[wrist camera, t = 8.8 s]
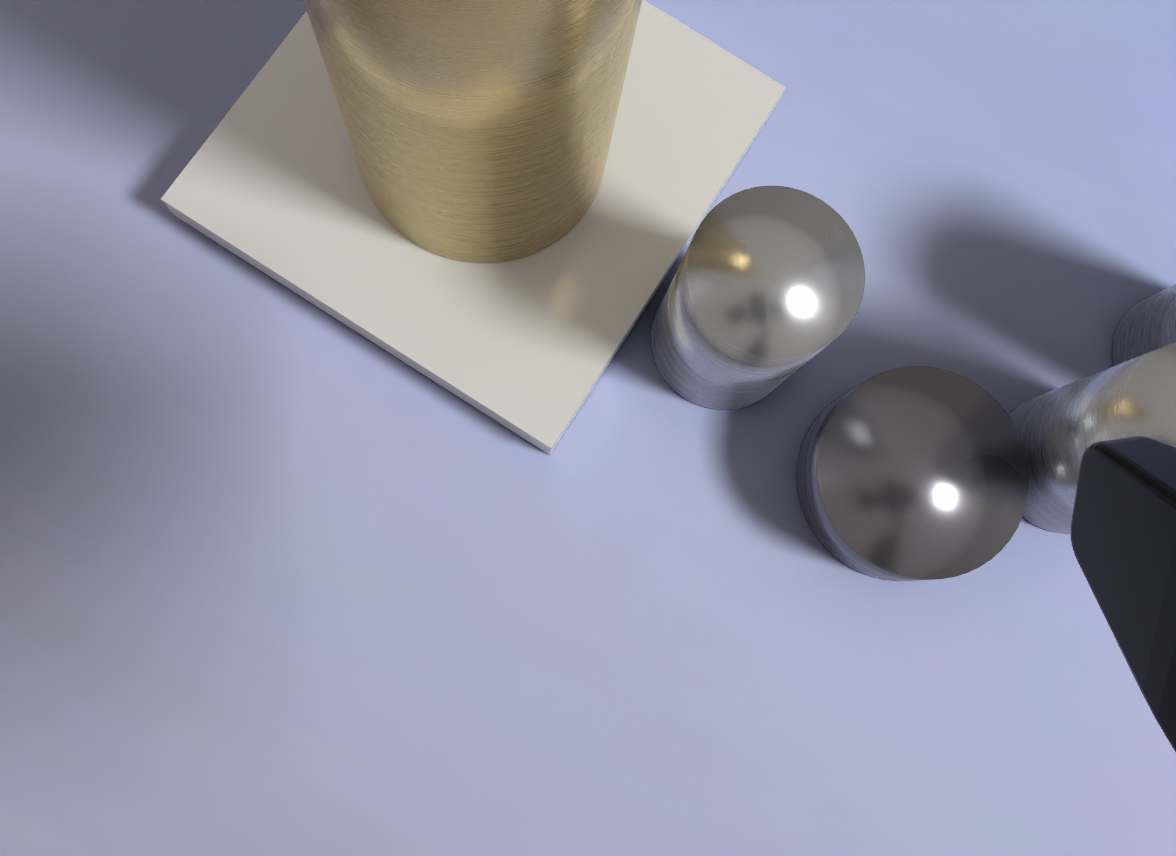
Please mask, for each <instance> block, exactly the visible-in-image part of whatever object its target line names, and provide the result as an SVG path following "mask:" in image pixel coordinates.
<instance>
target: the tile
mask: <svg viewBox="0 0 1176 856" xmlns="http://www.w3.org/2000/svg"><path fill="white" fill-rule="evenodd" d="M785 88H786V87H784V86H782V85H781V84H779V83H778V82H776V81H774V80H773V79H771V78H769V77H768V76H766V75H765V74H763V73H761V72H760V71H758V70H757V69H755V68H753V67H752V66H750V65H748V64H747V63H745V62H744V61H742V60H740V59H739V58H737V57H736V56H734V55H732V54H731V53H729V52H728V51H726V50H724V49H723V48H721V47H719V46H718V45H716V44H715V43H713V42H711V41H710V40H708V39H707V38H705V37H703V36H702V35H700V34H699V33H697V32H695V31H694V30H692V29H690V28H689V27H687V26H686V25H684V24H682V23H681V22H679V21H678V20H676V19H674V18H673V17H671V16H669V15H668V14H666V13H665V12H663V11H661V10H660V9H658V8H657V7H655V6H653V5H652V4H650V3H649V2H647V1H645V0H642V3H641V8H640V12H639V17H638V21H637V26H636V30H635V35H634V39H633V44H632V48H631V53H630V57H629V62H628V66H627V71H626V75H625V80H624V84H623V89H622V93H621V98H620V102H619V107H618V111H617V116H616V120H615V125H614V129H613V134H612V138H611V143H610V147H609V152H608V156H607V161H606V165H605V170H604V174H603V178H602V182H601V185H600V187H599V190H598V192H597V195H596V197H595V199H594V201H593V202H592V204H591V206H590V208H589V210H588V211H587V212H586V214H585V215H584V216H583V217H582V219H581V220H580V221H579V223H578V224H577V225H576V226H575V227H574V228H573V229H572V230H571V231H570V232H569V233H567V234H566V235H565V236H563V237H562V238H561V239H559V240H558V241H557V242H556V243H554V244H552V245H550V246H549V247H547V248H545V249H543V250H542V251H539V252H537V253H534V254H532V255H529V256H527V257H523V258H520V259H516V260H512V261H507V262H499V263H470V262H461V261H457V260H453V259H449V258H445V257H442V256H440V255H437V254H434V253H432V252H429V251H427V250H425V249H424V248H422V247H420V246H418V245H416V244H414V243H413V242H412V241H410V240H409V239H407V238H406V237H404V236H403V235H402V234H401V233H400V232H398V231H397V230H396V229H395V228H394V227H393V226H392V225H391V224H390V223H389V222H388V221H387V220H386V218H385V217H384V216H383V215H382V214H381V212H380V211H379V210H378V208H377V206H376V205H375V203H374V202H373V200H372V198H371V196H370V194H369V192H368V190H367V187H366V185H365V183H364V180H363V177H362V174H361V171H360V168H359V165H358V162H357V159H356V156H355V153H354V150H353V147H352V144H351V141H350V138H349V135H348V132H347V129H346V126H345V123H344V120H343V117H342V114H341V111H340V108H339V105H338V102H337V99H336V97H335V94H334V91H333V88H332V85H331V82H330V79H329V76H328V73H327V70H326V67H325V64H324V61H323V58H322V55H321V52H320V49H319V46H318V43H317V40H316V37H315V34H314V31H313V28H312V25H311V22H310V19H309V16H308V13H307V11H306V12H305V13H304V14H303V16H302V17H301V18H300V20H299V21H298V22H297V23H296V25H295V26H294V27H293V29H292V30H291V31H290V32H289V34H288V35H287V36H286V38H285V39H284V40H283V42H282V43H281V44H280V45H279V47H278V48H277V49H276V51H275V52H274V53H273V54H272V56H271V57H270V58H269V60H268V61H267V62H266V63H265V65H264V66H263V67H262V69H261V70H260V71H259V73H258V74H257V75H256V76H255V78H254V79H253V80H252V82H251V83H250V84H249V85H248V87H247V88H246V89H245V91H244V92H243V93H242V94H241V96H240V97H239V98H238V100H237V101H236V102H235V104H234V105H233V106H232V107H231V109H230V110H229V111H228V113H227V114H226V115H225V116H224V118H223V119H222V120H221V122H220V123H219V124H218V125H217V127H216V128H215V129H214V131H213V132H212V133H211V135H210V136H209V137H208V138H207V140H206V141H205V142H204V144H203V145H202V146H201V147H200V149H199V150H198V151H197V153H196V154H195V155H194V156H193V158H192V159H191V160H190V162H189V163H188V164H187V166H186V167H185V168H184V169H183V171H182V172H181V173H180V175H179V176H178V177H177V178H176V180H175V181H174V182H173V184H172V185H171V186H170V187H169V189H168V190H167V191H166V193H165V194H164V195H163V197H162V198H161V200H162V201H163V202H164V203H165V205H166V206H167V207H168V208H169V209H170V210H171V211H172V213H173V214H174V215H175V216H176V217H178V218H179V219H181V220H182V221H184V222H186V223H187V224H189V225H190V226H192V227H193V228H195V229H196V230H198V231H200V232H201V233H203V234H204V235H206V236H207V237H209V238H211V239H212V240H214V241H215V242H217V243H218V244H220V245H222V246H223V247H225V248H226V249H228V250H229V251H231V252H232V253H234V254H236V255H237V256H239V257H240V258H242V259H243V260H245V261H247V262H248V263H250V264H251V265H253V266H254V267H256V268H258V269H259V270H261V271H262V272H264V273H265V274H267V275H269V276H270V277H272V278H273V279H275V280H276V281H278V282H279V283H281V284H283V285H284V286H286V287H287V288H289V289H290V290H292V291H294V292H295V293H297V294H298V295H300V296H301V297H303V298H305V299H306V300H308V301H309V302H311V303H312V304H314V305H315V306H317V307H319V308H320V309H322V310H323V311H325V312H326V313H328V314H330V315H331V316H333V317H334V318H336V319H337V320H339V321H341V322H342V323H344V324H345V325H347V326H348V327H350V328H351V329H353V330H355V331H356V332H358V333H359V334H361V335H362V336H364V337H366V338H367V339H369V340H370V341H372V342H373V343H375V344H377V345H378V346H380V347H381V348H383V349H384V350H386V351H387V352H389V353H391V354H392V355H394V356H395V357H397V358H398V359H400V360H402V361H403V362H405V363H406V364H408V365H409V366H411V367H413V368H414V369H416V370H417V371H419V372H420V373H422V374H423V375H425V376H427V377H428V378H430V379H431V380H433V381H434V382H436V383H438V384H439V385H441V386H442V387H444V388H445V389H447V390H449V391H450V392H452V393H453V394H455V395H456V396H458V397H459V398H461V399H463V400H464V401H466V402H467V403H469V404H470V405H472V406H474V407H475V408H477V409H478V410H480V411H481V412H483V413H485V414H486V415H488V416H489V417H491V418H492V419H494V420H496V421H497V422H499V423H500V424H502V425H503V426H505V427H506V428H508V429H510V430H511V431H513V432H514V433H516V434H517V435H519V436H521V437H522V438H524V439H525V440H527V441H528V442H530V443H532V444H533V445H535V446H536V447H538V448H539V449H541V450H542V451H544V452H546V453H547V454H549V455H550V454H551V452H552V451H553V449H554V448H555V446H556V445H557V443H558V442H559V440H560V439H561V437H562V435H563V434H564V432H565V431H566V429H567V428H568V426H569V425H570V423H571V422H572V420H573V419H574V417H575V415H576V414H577V412H578V411H579V409H580V408H581V406H582V405H583V403H584V402H585V400H586V399H587V397H588V395H589V394H590V392H591V391H592V389H593V388H594V386H595V385H596V383H597V382H598V380H599V379H600V377H601V375H602V374H603V372H604V371H605V369H606V368H607V366H608V365H609V363H610V362H611V360H612V358H613V357H614V355H615V354H616V352H617V351H618V349H619V348H620V346H621V345H622V343H623V342H624V340H625V338H626V337H627V335H628V334H629V332H630V331H631V329H632V328H633V326H634V325H635V323H636V322H637V320H638V318H639V317H640V315H641V314H642V312H643V311H644V309H645V308H646V306H647V305H648V303H649V301H650V300H651V298H652V297H653V295H654V294H655V292H656V291H657V289H658V288H659V286H660V285H661V283H662V281H663V280H664V278H665V277H666V275H667V274H668V272H669V271H670V269H671V268H672V266H673V265H674V263H675V261H676V260H677V258H678V257H679V255H680V254H681V252H682V251H683V249H684V248H685V246H686V244H687V243H688V241H689V240H690V238H691V237H692V235H693V234H694V232H695V231H696V229H697V228H698V226H699V224H700V223H701V221H702V220H703V218H704V217H705V215H706V214H707V212H708V211H709V209H710V208H711V206H712V204H713V203H714V201H715V200H716V198H717V197H718V195H719V194H720V192H721V191H722V189H723V188H724V186H725V184H726V183H727V181H728V180H729V178H730V177H731V175H732V174H733V172H734V171H735V169H736V167H737V166H738V164H739V163H740V161H741V160H742V158H743V157H744V155H745V154H746V152H747V151H748V149H749V147H750V146H751V144H752V143H753V141H754V140H755V138H756V137H757V135H758V134H759V132H760V131H761V129H762V127H763V126H764V124H765V123H766V121H767V120H768V118H769V117H770V115H771V114H772V112H773V110H774V109H775V107H776V105H777V103H778V102H779V100H780V98H781V96H782V94H783V92H784V90H785Z"/></svg>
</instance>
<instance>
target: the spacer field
mask: <svg viewBox="0 0 1176 856" xmlns="http://www.w3.org/2000/svg"><path fill="white" fill-rule="evenodd" d="M864 284H865V270H864V262H863V257H862V253H861V250H860V247H859V244H858V242H857V240H856V238H855V236H854V234H853V232H852V231H851V229H850V228H849V226H848V225H847V223H846V222H845V221H844V220H843V218H842V217H841V216H840V215H839V214H838V213H837V212H836V211H835V210H834V209H833V208H831V207H830V206H829V205H827V204H826V203H825V202H823V201H822V200H820V199H818V198H817V197H815V196H813V195H811V194H808V193H806V192H803V191H801V190H797V189H793V188H790V187H782V186H761V187H754V188H750V189H746V190H743V191H740V192H738V193H735V194H733V195H731V196H730V197H728V198H726V199H724V200H723V201H722V202H720V203H719V204H718V205H716V206H715V207H714V208H713V209H712V210H711V211H710V212H709V213H708V214H707V216H706V217H705V218H704V220H703V221H702V222H701V224H700V226H699V227H698V229H697V231H696V233H695V235H694V237H693V239H692V241H691V243H690V245H689V247H688V249H687V251H686V253H685V255H684V257H683V259H682V261H681V263H680V265H679V267H678V269H677V272H676V274H675V276H674V278H673V280H672V282H671V284H670V286H669V288H668V290H667V292H666V294H665V296H664V298H663V300H662V302H661V304H660V306H659V308H658V310H657V313H656V315H655V318H654V322H653V326H652V334H651V343H652V351H653V356H654V359H655V362H656V365H657V367H658V369H659V371H660V373H661V374H662V376H663V378H664V379H665V381H666V382H667V383H668V384H669V385H670V387H671V388H672V389H674V390H675V391H676V392H677V393H678V394H679V395H681V396H682V397H683V398H685V399H687V400H688V401H690V402H692V403H694V404H697V405H699V406H702V407H705V408H709V409H716V410H732V409H739V408H743V407H746V406H749V405H751V404H753V403H756V402H757V401H759V400H761V399H762V398H764V397H765V396H766V395H768V394H769V393H770V392H771V391H773V390H774V389H775V388H776V387H777V386H779V385H780V384H781V383H782V382H784V381H785V380H786V379H787V378H788V377H790V376H791V375H792V374H793V373H795V372H796V371H797V370H798V369H799V368H801V367H802V366H803V365H804V364H806V363H807V362H808V361H809V360H810V359H812V358H813V357H814V356H815V355H817V354H818V353H819V352H820V351H822V350H823V349H824V348H825V347H826V346H828V345H829V344H830V343H831V342H833V341H834V340H835V339H836V338H837V337H839V336H840V335H841V334H842V333H843V331H844V330H845V329H846V328H847V327H848V326H849V324H850V323H851V321H852V320H853V318H854V317H855V315H856V313H857V311H858V309H859V306H860V303H861V300H862V296H863V291H864ZM1112 356H1113V364H1114V366H1113V367H1111V368H1108V369H1105V370H1103V371H1100V372H1098V373H1095V374H1093V375H1090V376H1088V377H1085V378H1082V379H1080V380H1077V381H1075V382H1072V383H1070V384H1067V385H1065V386H1062V387H1060V388H1057V389H1054V390H1052V391H1049V392H1047V393H1044V394H1042V395H1039V396H1037V397H1034V398H1032V399H1030V400H1027V401H1025V402H1024V403H1022V404H1021V405H1019V406H1018V407H1017V408H1015V409H1014V410H1013V411H1012V412H1011V413H1010V414H1009V415H1008V414H1007V412H1006V411H1005V410H1004V409H1003V408H1002V406H1001V405H1000V404H999V403H998V402H997V401H996V400H995V399H994V398H993V397H992V396H991V395H990V394H989V393H988V392H987V391H985V390H984V389H982V388H981V387H980V386H978V385H977V384H975V383H974V382H972V381H970V380H968V379H966V378H965V377H963V376H960V375H958V374H955V373H953V372H950V371H946V370H942V369H938V368H932V367H924V366H916V367H903V368H896V369H893V370H889V371H886V372H883V373H881V374H878V375H876V376H874V377H872V378H870V379H868V380H867V381H865V382H863V383H862V384H860V385H859V386H857V387H855V388H854V389H852V390H851V391H849V392H847V393H846V394H844V395H843V396H841V397H839V398H838V399H836V400H835V401H834V402H832V403H831V404H830V405H829V406H827V407H826V408H825V409H824V410H823V411H822V412H821V414H820V415H819V416H818V417H817V418H816V420H815V421H814V422H813V424H812V425H811V427H810V428H809V430H808V432H807V434H806V436H805V438H804V441H803V444H802V447H801V450H800V454H799V459H798V465H797V488H798V494H799V499H800V503H801V506H802V510H803V513H804V515H805V517H806V520H807V522H808V524H809V526H810V528H811V529H812V531H813V532H814V534H815V535H816V537H817V538H818V540H819V541H820V542H821V543H822V544H823V546H824V547H825V548H826V549H827V550H828V551H829V552H830V553H831V554H832V555H833V556H834V557H836V558H837V559H838V560H840V561H841V562H842V563H844V564H845V565H847V566H848V567H850V568H852V569H854V570H856V571H858V572H860V573H863V574H865V575H868V576H870V577H875V578H879V579H883V580H892V581H911V580H930V579H943V578H949V577H955V576H958V575H961V574H965V573H968V572H970V571H972V570H974V569H976V568H978V567H980V566H982V565H983V564H985V563H986V562H988V561H989V560H991V559H992V558H993V557H994V556H995V555H996V554H998V553H999V552H1000V551H1001V550H1002V549H1003V548H1004V546H1005V545H1006V544H1007V543H1008V542H1009V540H1010V539H1011V537H1012V536H1013V534H1014V533H1015V531H1016V529H1017V528H1018V525H1019V523H1020V521H1021V519H1022V517H1023V518H1024V519H1026V520H1027V521H1029V522H1030V523H1032V524H1034V525H1035V526H1037V527H1039V528H1042V529H1045V530H1047V531H1051V532H1055V533H1063V534H1071V521H1072V514H1073V508H1074V502H1075V496H1076V489H1077V483H1078V477H1079V470H1080V464H1081V460H1082V456H1083V454H1084V452H1085V450H1086V449H1087V448H1088V447H1089V446H1090V445H1092V444H1093V443H1095V442H1099V441H1106V440H1113V439H1120V438H1127V437H1134V436H1144V437H1148V438H1151V439H1154V440H1157V441H1160V442H1162V443H1165V444H1168V445H1171V446H1173V447H1176V284H1175V285H1173V286H1170V287H1168V288H1166V289H1164V290H1162V291H1160V292H1158V293H1156V294H1154V295H1152V296H1150V297H1148V298H1145V299H1143V300H1142V301H1140V302H1138V303H1137V304H1135V305H1134V306H1133V307H1132V308H1131V309H1130V310H1129V311H1128V312H1127V313H1126V314H1125V315H1124V317H1123V318H1122V320H1121V321H1120V323H1119V325H1118V327H1117V330H1116V333H1115V336H1114V341H1113V353H1112Z"/></svg>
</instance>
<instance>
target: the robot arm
mask: <svg viewBox="0 0 1176 856" xmlns="http://www.w3.org/2000/svg"><path fill="white" fill-rule="evenodd" d="M1071 541H1072V547H1073V550H1074V553H1075V556H1076V558H1077V561H1078V563H1079V565H1080V567H1081V569H1082V571H1083V573H1084V575H1085V577H1086V579H1087V581H1088V583H1089V585H1090V587H1091V589H1092V591H1093V594H1094V596H1095V598H1096V600H1097V602H1098V604H1099V606H1100V608H1101V610H1102V612H1103V614H1104V616H1105V618H1106V620H1107V622H1108V624H1109V626H1110V628H1111V630H1112V632H1113V634H1114V637H1115V639H1116V641H1117V643H1118V645H1119V647H1120V649H1121V651H1122V653H1123V655H1124V657H1125V659H1126V661H1127V663H1128V665H1129V667H1130V669H1131V671H1132V673H1133V675H1134V677H1135V680H1136V682H1137V684H1138V686H1139V688H1140V690H1141V692H1142V694H1143V696H1144V698H1145V699H1146V701H1147V703H1148V705H1149V707H1150V709H1151V711H1152V713H1153V715H1154V716H1155V718H1156V720H1157V722H1158V724H1159V725H1160V727H1161V729H1162V730H1163V732H1164V734H1165V735H1166V737H1167V738H1168V740H1169V742H1170V743H1171V745H1172V747H1173V748H1174V750H1175V752H1176V447H1173V446H1171V445H1168V444H1165V443H1162V442H1160V441H1157V440H1154V439H1151V438H1148V437H1144V436H1134V437H1127V438H1120V439H1113V440H1106V441H1099V442H1095V443H1093V444H1092V445H1090V446H1089V447H1088V448H1087V449H1086V450H1085V452H1084V454H1083V456H1082V460H1081V464H1080V470H1079V477H1078V483H1077V489H1076V496H1075V502H1074V508H1073V514H1072V521H1071Z"/></svg>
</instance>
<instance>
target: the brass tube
mask: <svg viewBox="0 0 1176 856" xmlns="http://www.w3.org/2000/svg"><path fill="white" fill-rule="evenodd" d="M303 1H304V4H305V7H306V10H307V13H308V16H309V19H310V22H311V25H312V28H313V31H314V34H315V37H316V40H317V43H318V46H319V49H320V52H321V55H322V58H323V61H324V64H325V67H326V70H327V73H328V76H329V79H330V82H331V85H332V88H333V91H334V94H335V97H336V99H337V102H338V105H339V108H340V111H341V114H342V117H343V120H344V123H345V126H346V129H347V132H348V135H349V138H350V141H351V144H352V147H353V150H354V153H355V156H356V159H357V162H358V165H359V168H360V171H361V174H362V177H363V180H364V183H365V185H366V187H367V190H368V192H369V194H370V196H371V198H372V200H373V202H374V203H375V205H376V206H377V208H378V210H379V211H380V212H381V214H382V215H383V216H384V217H385V218H386V220H387V221H388V222H389V223H390V224H391V225H392V226H393V227H394V228H395V229H396V230H397V231H398V232H400V233H401V234H402V235H403V236H404V237H406V238H407V239H409V240H410V241H412V242H413V243H414V244H416V245H418V246H420V247H422V248H424V249H425V250H427V251H429V252H432V253H434V254H437V255H440V256H442V257H445V258H449V259H453V260H457V261H461V262H470V263H499V262H507V261H512V260H516V259H520V258H523V257H527V256H529V255H532V254H534V253H537V252H539V251H542V250H543V249H545V248H547V247H549V246H550V245H552V244H554V243H556V242H557V241H558V240H559V239H561V238H562V237H563V236H565V235H566V234H567V233H569V232H570V231H571V230H572V229H573V228H574V227H575V226H576V225H577V224H578V223H579V221H580V220H581V219H582V217H583V216H584V215H585V214H586V212H587V211H588V210H589V208H590V206H591V204H592V202H593V201H594V199H595V197H596V195H597V192H598V190H599V187H600V185H601V182H602V178H603V174H604V170H605V165H606V161H607V156H608V152H609V147H610V143H611V138H612V134H613V129H614V125H615V120H616V116H617V111H618V107H619V102H620V98H621V93H622V89H623V84H624V80H625V75H626V71H627V66H628V62H629V57H630V53H631V48H632V44H633V39H634V35H635V30H636V26H637V21H638V17H639V12H640V8H641V3H642V0H303Z"/></svg>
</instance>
